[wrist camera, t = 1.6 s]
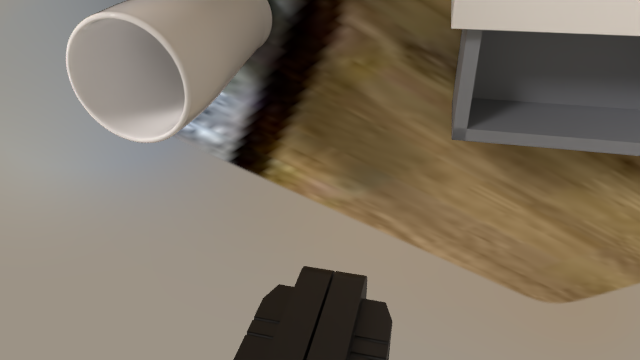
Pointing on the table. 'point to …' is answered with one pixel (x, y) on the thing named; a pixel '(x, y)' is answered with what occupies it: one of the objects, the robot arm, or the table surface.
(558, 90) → the tray
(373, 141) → the table surface
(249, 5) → the white cup
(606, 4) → the mailer sleeve
